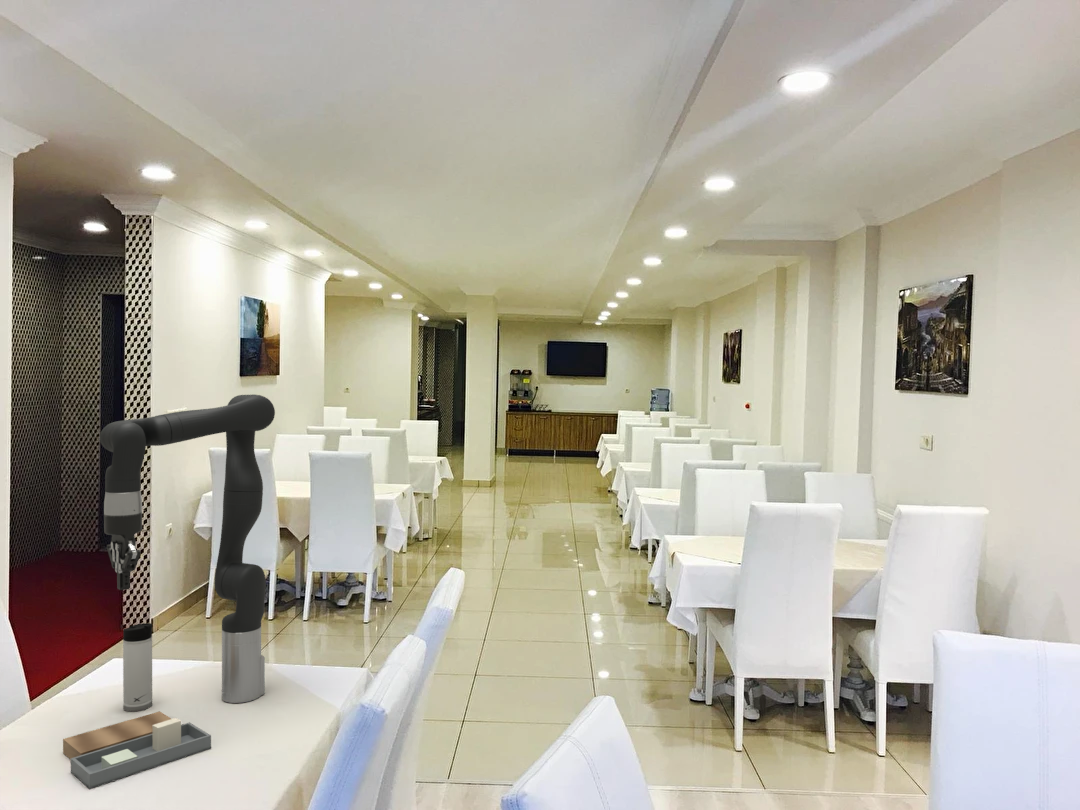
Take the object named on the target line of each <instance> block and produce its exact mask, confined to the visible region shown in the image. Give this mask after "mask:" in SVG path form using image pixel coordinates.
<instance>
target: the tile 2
mask: <svg viewBox="0 0 1080 810" xmlns="http://www.w3.org/2000/svg"><path fill="white" fill-rule="evenodd" d="M181 725H182V720H180V719H179V718H177V717H174V718H171V719H170V720H167V721H164V722H161V723H158V724H154V725H152V731H153V749H154V750H156V751H160V750H163V749H166V748H169V747H172V746H176V745H179V744H181Z"/></svg>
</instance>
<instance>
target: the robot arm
mask: <svg viewBox="0 0 1080 810" xmlns="http://www.w3.org/2000/svg"><path fill="white" fill-rule="evenodd" d="M275 409H276V408H275V406H274V404H273V403H272V401H271V400H270V399H269V398H268V397H265V396H264V395H260V394H239V395H236V396H233V397H232V398H231V399H230V400H229V402H228V403H227V405H224V406H219V407H212V408H211V407H210V408H201V409H192V410H191V409H190V410H182V411H175V412H170V413H164V414H159V415H155V416H150V417H143V418H134V419H123V420H118V421H114V422H110V423H108V424H106V426H104V427H103V429H102V430H101V432H100V434H99V441H100V444H101V445H102V447H103V448H104V449H105V450H107V451H109V452H111V453H112V457H111V458H112V459H111V465H110V466H108V467H107V468H106V470H105V476H104V478H105V483H104V484H105V489H104V490H105V492H104V493H105V494H104V501H103V522H104V523H103V526H104V528H103V531H104V534H106V535H108V536H111V541H110V544H107V545H106V549H107V550H106V551H107V553H108V557H109V560H110V563H111V567H112V569H114V571H115V573H116V583H117V585H116V586H117V587H116V588H117V590H119V591H124V590H129V589H130V588H131V573H132V572H133V571H135V570H136V567H137V565H138V563H139V559H140V557H141V550H140V549H136V548H137V541H136V537H135V535H136V534H139V533H140V532H142V530H143V499H142V498H143V497H142V491H141V488H142V487H141V485H142V483H141V478H142V477H141V469H142V467H143V463H144V458H145V452H146V448H147V447H150V446H152V447H154V446H155V447H157V446H158V447H159V446H168V445H171V444H175V443H176V444H177V443H181V442H182V443H183V442H186V441H190V440H195V439H198V438H203V437H207V436H211V435H217V434H221V433H225V438H226V439H225V440H226V441H225V442H226V456H225V473H224V486H223V498H222V520H221V533H220V541H219V548H218V554H217V562H216V566H215V574H214V589H215V592H216V594H217V596H218V597H219V598H221V599H224V600H230V601H236V606H235V611H234V612H232V613H229V614H227V615H225V616H224V617H223V618H222V620H221V699H222V701H223V702H226V703H230V704H239V703H247V702H250V701H254V700H256V699H258V698H260V697H261V696H264V695H265V694H266V692H265V691H266V690H265V689H266V688H265V687H266V685H265V684H266V683H265V681H266V680H265V677H266V674H265V671H266V667H265V665H266V664H265V663H266V661H265V659H266V657H265V656H264V655H262V621H263V620H262V619H263V616H264V613H265V604H266V603H265V602H266V589H267V588H266V585H267V582H266V581H267V580H266V576H265V575H266V574H265V572H264V569H263V568H262V567H261V566H260V565H258V564H254V563H246V562H245V563H244V562H243V556H244V554H243V553H244V547H245V543H246V541H247V540H246V539H247V537H248V536H249V533H250V532H251V530H252V529H253V528H254V525H255V524H256V522H257V521H258V519H259V517H260V514H261V512H262V507H263V495H264V493H263V491H264V483H263V477H262V473H261V471H260V467H259V465H258V462H257V458H256V454H255V452H256V451H255V440H256V439H255V438H256V437H255V436H256V432H259V431H263V430H265V429H267V428H268V427H269V426H271V424H272V423H273V421H274V418H275V414H276V410H275Z"/></svg>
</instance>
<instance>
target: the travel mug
mask: <svg viewBox="0 0 1080 810" xmlns="http://www.w3.org/2000/svg"><path fill="white" fill-rule="evenodd" d="M122 631H123V632H122V633H123V634H122V636H123V638H122V641H123V643H122V651H123V652H122V660H123V662H122V664H123V665H122V667H123V668H122V672H123V673H122V675H123V676H122V677H123V678H122V679H123V681H122V683H123V688H122V689H123V690H122V691H123V693H122V694H123V695H122V696H123V697H122V698H123V704H122V707H123V710H124V711H126V712H133V713H134V712H140V711H144V710H148V709H149V708H151V706H152V705H153V634H152V633H153V624H152V623H150V622H145V623H144V622H143V623H138V624H133V625H130V626H129V627H126V628H123V630H122Z"/></svg>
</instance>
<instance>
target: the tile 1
mask: <svg viewBox="0 0 1080 810" xmlns="http://www.w3.org/2000/svg"><path fill="white" fill-rule="evenodd" d="M135 758H138V756H137V755H135V754H134V753H133V752H131V751H130V750H128V749H125V750H122V751H119V752H116V753H112V754H109V755H106V756H103V757H101V767H102V769H104V768H107V767H110V766H113V765H116V764H120V763H123V762H126V761H129V760H132V759H135Z"/></svg>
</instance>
